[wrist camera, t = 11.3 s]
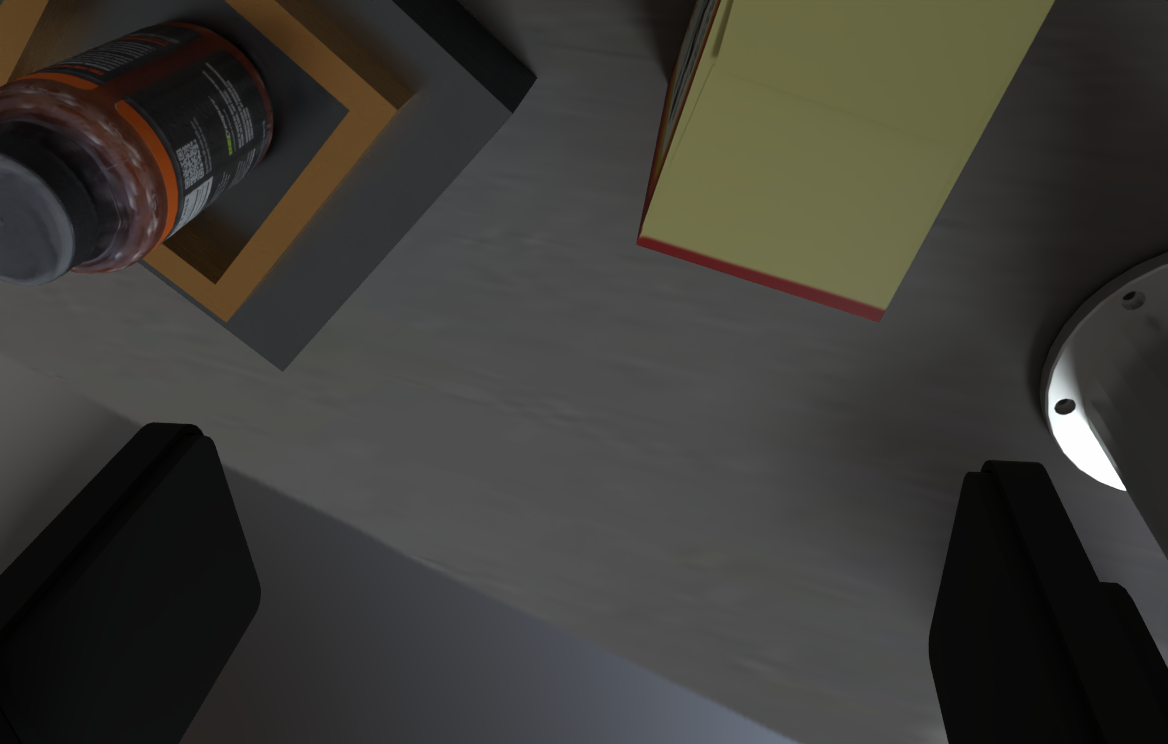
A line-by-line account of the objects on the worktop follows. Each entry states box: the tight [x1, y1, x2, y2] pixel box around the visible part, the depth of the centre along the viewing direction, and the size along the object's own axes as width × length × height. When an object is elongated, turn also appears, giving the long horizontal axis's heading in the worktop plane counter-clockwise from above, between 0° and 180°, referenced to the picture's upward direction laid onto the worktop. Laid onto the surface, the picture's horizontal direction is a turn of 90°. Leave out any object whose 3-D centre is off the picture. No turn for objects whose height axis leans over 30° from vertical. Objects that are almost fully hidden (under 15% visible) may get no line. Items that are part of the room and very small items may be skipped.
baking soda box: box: [636, 0, 1055, 322], centre depth 27 cm, size 10×6×16 cm
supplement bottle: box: [0, 22, 274, 286], centre depth 29 cm, size 6×6×11 cm
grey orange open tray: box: [0, 0, 537, 372], centre depth 34 cm, size 22×16×7 cm
